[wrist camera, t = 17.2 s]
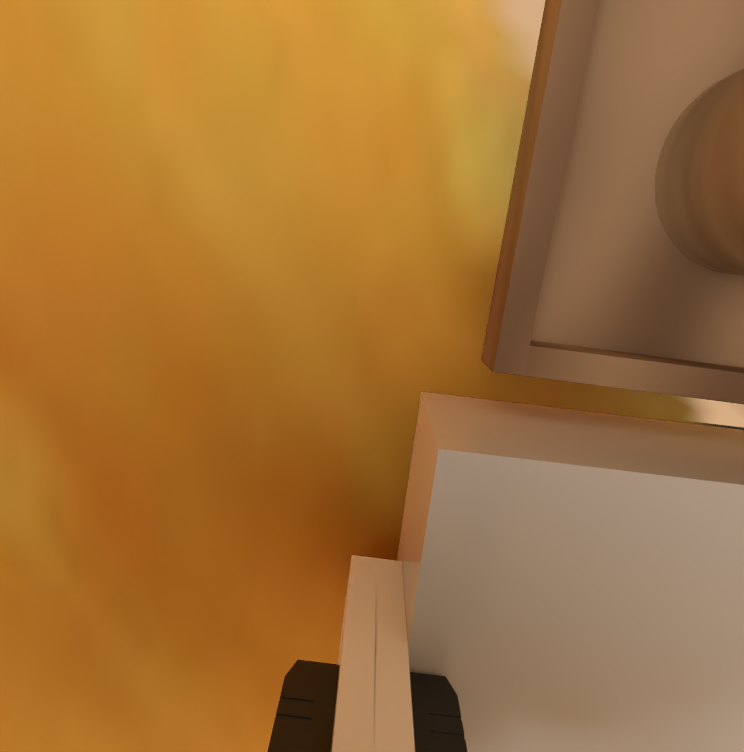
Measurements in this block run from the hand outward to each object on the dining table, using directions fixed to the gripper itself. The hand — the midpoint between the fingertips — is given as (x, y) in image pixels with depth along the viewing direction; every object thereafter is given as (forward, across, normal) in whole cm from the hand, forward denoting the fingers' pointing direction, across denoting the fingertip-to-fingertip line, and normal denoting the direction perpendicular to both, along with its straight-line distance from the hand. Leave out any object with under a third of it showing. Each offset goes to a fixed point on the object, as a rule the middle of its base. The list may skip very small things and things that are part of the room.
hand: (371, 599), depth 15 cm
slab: (+2, +7, +2) cm, 7 cm away
